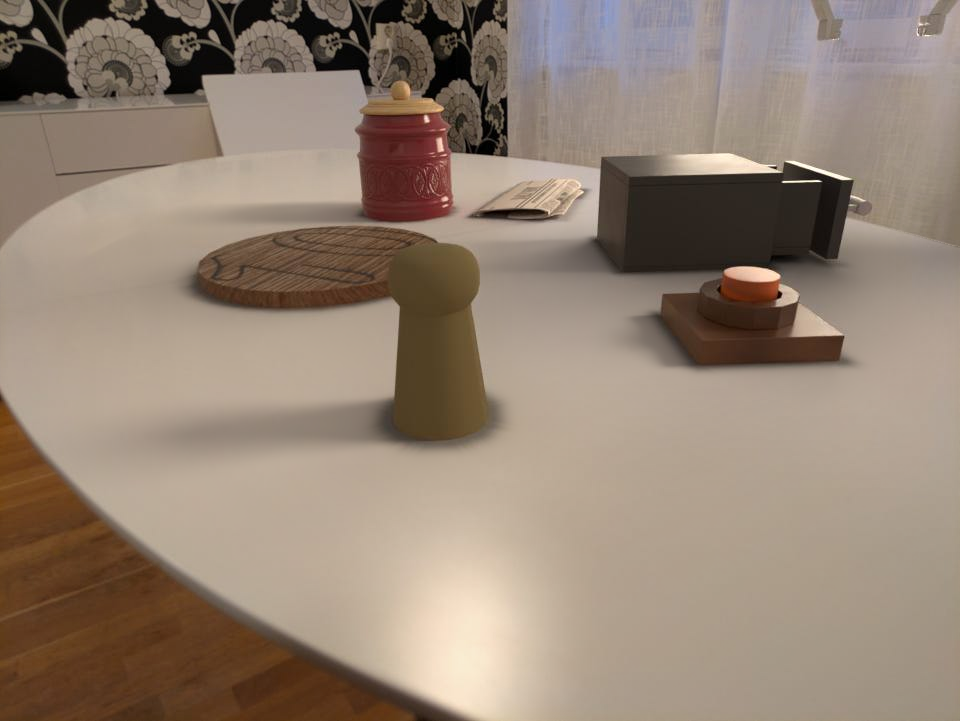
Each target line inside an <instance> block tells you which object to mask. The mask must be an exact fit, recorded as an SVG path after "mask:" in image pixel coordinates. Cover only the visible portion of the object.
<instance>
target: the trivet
mask: <svg viewBox="0 0 960 721" xmlns="http://www.w3.org/2000/svg"><path fill="white" fill-rule="evenodd" d="M423 243H439V241H438V240H436V238H434V237H432V236H429V235H427V234H424V233H422V232H418V231H414V230H410V229H409V230H408V229H405V228H398V227H397V228H396V227H387V226H380V225H379V226H378V225H377V226H376V225H375V226H374V225H332V226H331V225H329V226H317V227H306V228H305V227H304V228H297V229H290V230H289V229H288V230H284V231H277V232H270V233H265V234H261V235H257V236H252V237H248V238H244V239H242V240H241V239H240V240H237V241H235V242H231V243H229V244H226V245H224V246H221V247H219V248H217V249H215V250H213V251H211V252H209V253H208V254H206V255H205V256H204V257H202V258H201V259H200V260H199V261H198V266H197V268H196V272H197V277H198V283H199V286H200V287H201V288H202V290H203V291H204V292H205V293H206V294H207V295H209V296H211V297H213V298H215V299H218V300H220V301H223V302H227V303H231V304H236V305H241V306H246V307H247V306H248V307H255V308H257V307H258V308H274V309H305V308H322V307H323V308H324V307H331V306H333V307H334V306H340V305H341V306H342V305H347V304H348V305H349V304H350V305H351V304H356V303H361V302H367V301H373V300H376V299H381V298H386V297H390V296H391V293H390V291H389V288H388V280H387V274H388V268H389V264H390V262H391V260H392V258H393V256H394V254H396V253H397V252H399V251H400V250H402V249H403V248H406V247H409V246H412V245H417V244H423Z"/></svg>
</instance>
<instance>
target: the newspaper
mask: <svg viewBox="0 0 960 721" xmlns="http://www.w3.org/2000/svg"><path fill="white" fill-rule="evenodd" d="M580 188H581V183H580V182H579V181H577V180H576V179H573V178H550V179H538V180H537V179H536V180H526V181H522V182H521V181H520V182H519V183H517V184H515V185H514V186H512V187H511V188H508V190H506V191H504V192H503V193H502V194H500V195H499V196H497V197H496V198H494V199H493V200H491V201H490V202H489V203H487V204H486V205H484V206H483V207H481V208H479V209H478V210H476V211H475V212H474V213H473V217H474V218H475V217H483V216H484V215H486V214H487V213H489V212H493V211H494V212H495V211H510V213H509V214H508V215H507V217H506V218H507V219H516V220H517V219H518V220H535V219H546V218H549V217H553V216H558V215H562V216H564V215H565V213H566V212H567V211H568V209H570V207H571V205H572V204H573V202H574V201H575V199H577V198H578V197H579V196H581V195H582V194H583V193H585V191H584V190H582V189H580Z"/></svg>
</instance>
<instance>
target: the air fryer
mask: <svg viewBox="0 0 960 721" xmlns="http://www.w3.org/2000/svg"><path fill="white" fill-rule="evenodd" d="M764 165H765V164H761V163H759V162H756V161H753V160H750V159H747V158H745V157H743V156H742V157H741V156H739V155H737V154H733V153H728V152H727V153H725V152H724V153H688V154H657V155H655V154H653V155H652V154H650V155H618V156H617V155H616V156H601V157H600V169H599V170H600V173H599V190H598V191H599V193H598V208H597V209H598V212H597V230H596V234H597V235H596V239H597V241H598V242H599V244H600V245H601V246H602V248H603V249H604V250H605V251H606V253H607V254H608V256H609V257H610V258H611V259H612V260H613V262H614V263H615V265H616V266H617V267H618V268H619V270H620V271H621V272H622V273H623V274H629V273H663V272H664V273H665V272H687V271H688V272H696V271H698V272H699V271H724V270H726V269H728V268H732V267H744V266H745V267H758V268H764V269H769V268H770V263H771V258H772V255H771V252H772V246H773V240H774V234H775V227H776V221H777V215H778V209H779V203H780V197H781V191H782V185H783V177H784V173H783V171H780V170H778V169H777V170H775V169H772V168H770V167H767V166H764Z"/></svg>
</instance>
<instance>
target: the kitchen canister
mask: <svg viewBox="0 0 960 721" xmlns="http://www.w3.org/2000/svg"><path fill="white" fill-rule="evenodd" d="M390 95H391V98H376V99H370V100H369V101H368V103H367V104H365V105H364V106H363V107H361V108H360V109H359V110H358V111H359V113H360V114H361V115H363V117H362V119H361V123H359V124H357V126H356V127H355V128H354V132H355V134H357V135H358V137H359V152H357V153H356V158H357V159H358V166H359V177H360V187H361V188H360V189H361V198H360V201H361V208H362V210H363V213H364V216H365V217H366V218H368V219H371V220H375V221H382V222H394V223H395V222H396V223H397V222H398V223H400V222H401V223H404V222H406V223H407V222H421V221H429V220H435V219H438V218H443V217H445V216H448V215H449V214H451V213H452V212H453V205H454V194H453V190H452V189H453V188H452V186H453V185H452V166H451V163H452V162H451V155H452V154H453V152H452V150H451V149H450V148H449V144H448V143H449V142H448V133H449V131H450V130H451V127H452V126H451V125H450V123H448V122H446V121H445V120H444V119H443V116H442V115H441V112H443V111H444V110H445V108H444V107H443V106H442V105H440V104H439V103H437V102H436V101H435V100H434V99H433V98H431V97H430V98H429V97H411V88H410V85H409V83H408V82H406V81H403V80H397V81H395V82H393V83H392V84H391V87H390Z"/></svg>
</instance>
